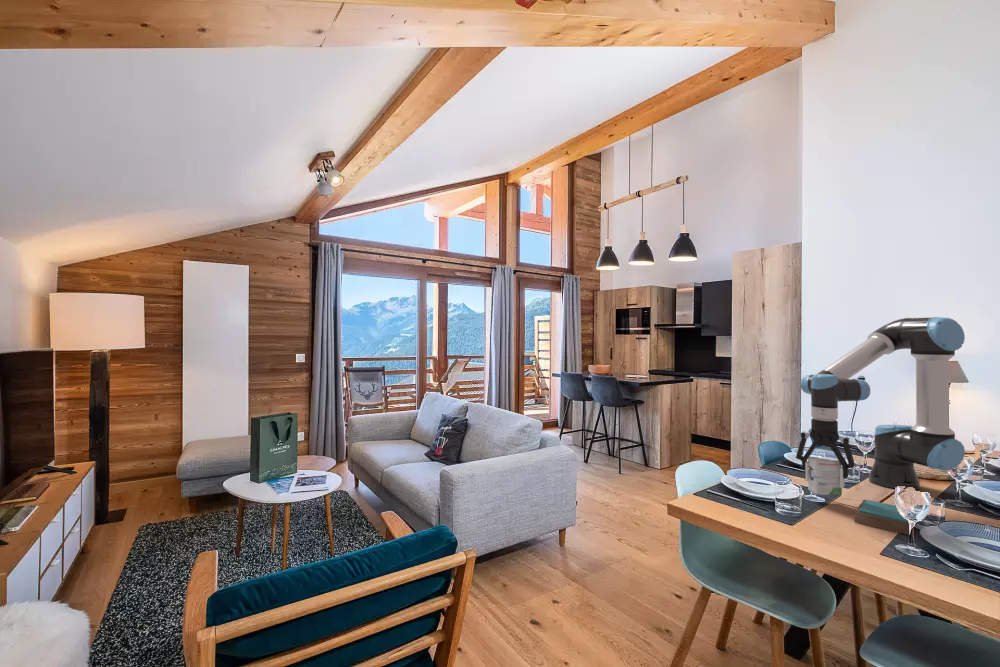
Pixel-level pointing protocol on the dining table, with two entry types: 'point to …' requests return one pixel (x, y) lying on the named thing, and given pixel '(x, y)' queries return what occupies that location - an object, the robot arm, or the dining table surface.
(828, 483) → the ink box
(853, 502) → the dining table surface
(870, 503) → the walnut tray
